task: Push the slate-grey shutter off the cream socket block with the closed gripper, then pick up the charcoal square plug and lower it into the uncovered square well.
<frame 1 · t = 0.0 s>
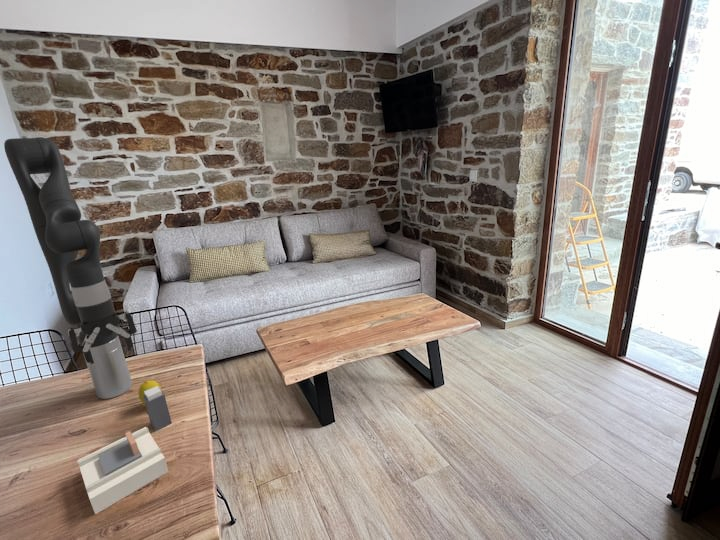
hand: (110, 356, 99), 17 cm above the table, tool pointing down, fingers open, 8 cm apart
plug: (161, 423, 98), on the table
shutter: (118, 451, 82), point 6 cm above the table, slide at 0.0 cm
socket: (125, 472, 84), on the table
lemon: (153, 405, 106), on the table
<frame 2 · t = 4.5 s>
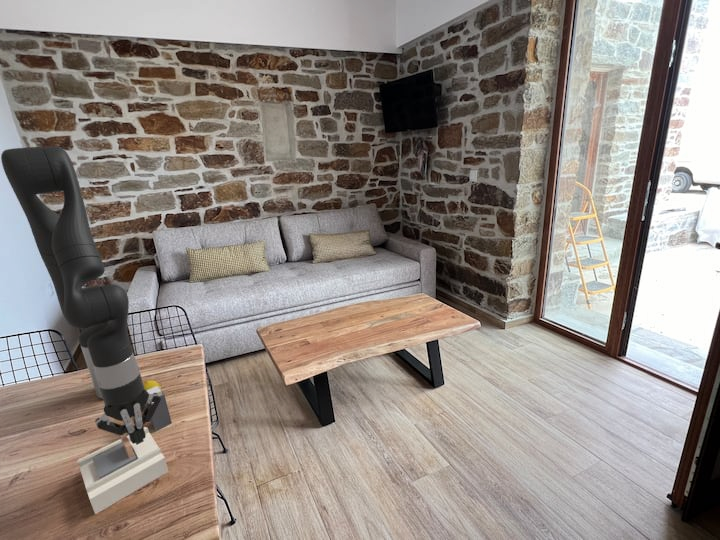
hand: (139, 441, 84), 6 cm above the table, tool pointing down, fingers closed
shutter: (113, 453, 81), point 6 cm above the table, slide at 1.0 cm, touching gripper
everything else where it was.
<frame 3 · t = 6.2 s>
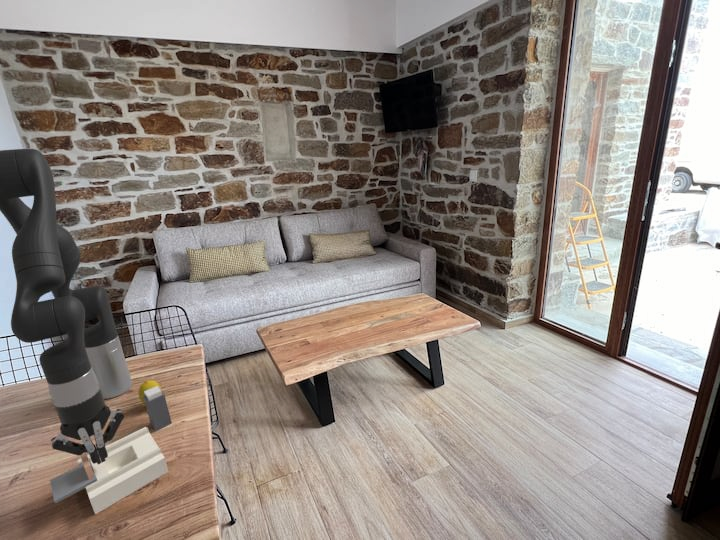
hand: (100, 460, 80), 6 cm above the table, tool pointing down, fingers closed
shutter: (71, 475, 76), point 6 cm above the table, slide at 8.5 cm, touching gripper
everything else where it was.
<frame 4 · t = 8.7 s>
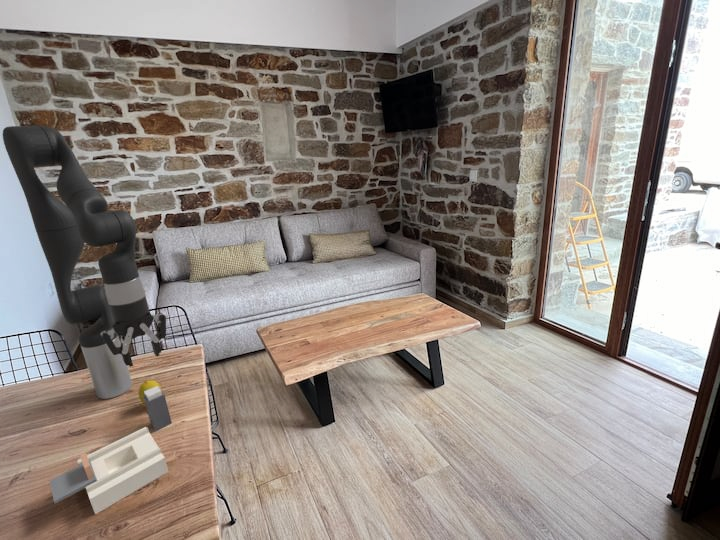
hand: (143, 359, 92), 19 cm above the table, tool pointing down, fingers open, 5 cm apart
shutter: (71, 475, 76), point 6 cm above the table, slide at 8.5 cm
everything else where it was.
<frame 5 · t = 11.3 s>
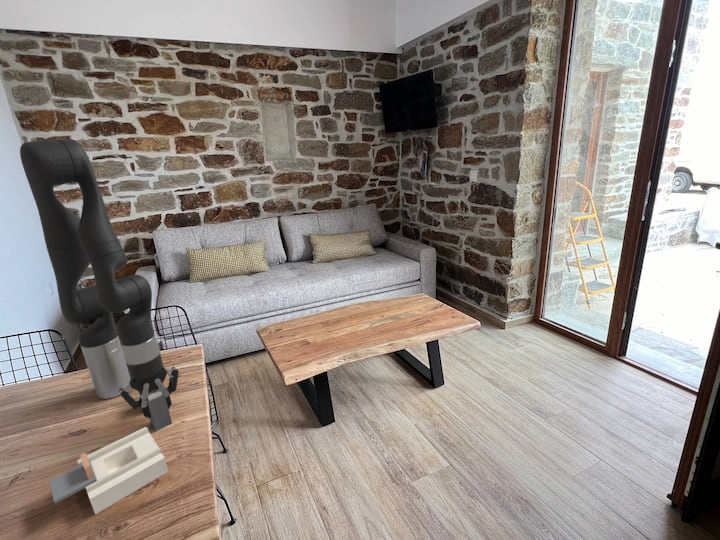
hand: (158, 411, 97), 4 cm above the table, tool pointing down, fingers closed on plug, 4 cm apart
plug: (161, 423, 98), on the table, touching gripper
everything else where it was.
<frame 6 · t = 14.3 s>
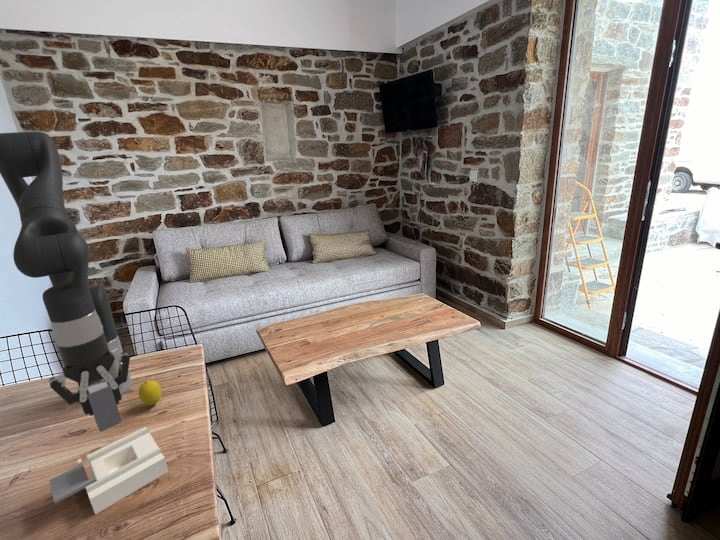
hand: (103, 407, 78), 18 cm above the table, tool pointing down, fingers closed on plug, 4 cm apart
plug: (109, 422, 79), point 14 cm above the table, touching gripper
everything else where it was.
when the fingers open (5 cm above the table, at t = 17.4 s): plug stays where it is, resting on socket.
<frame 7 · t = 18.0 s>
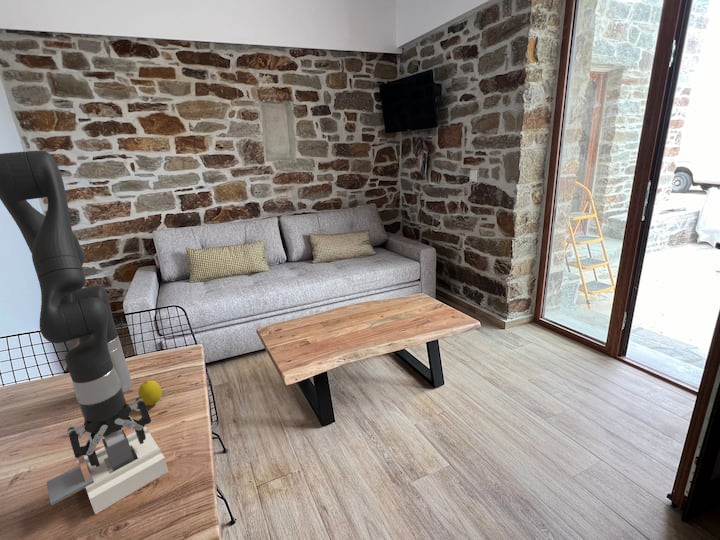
hand: (119, 452, 82), 6 cm above the table, tool pointing down, fingers open, 8 cm apart
plug: (125, 471, 83), resting on socket
shutter: (68, 476, 76), point 6 cm above the table, slide at 9.0 cm, touching gripper
everything else where it was.
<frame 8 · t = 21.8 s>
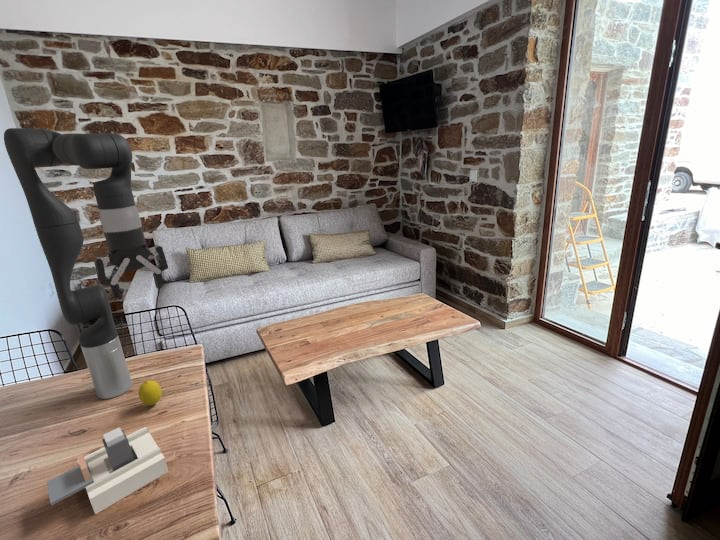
hand: (139, 293, 89), 36 cm above the table, tool pointing down, fingers open, 8 cm apart
shutter: (68, 476, 76), point 6 cm above the table, slide at 9.0 cm
everything else where it was.
at the end: plug 0.1 cm off-centre on the socket, point 0.5 cm above the socket's base; shutter slide at 9.0 cm; the gripper is holding nothing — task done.
